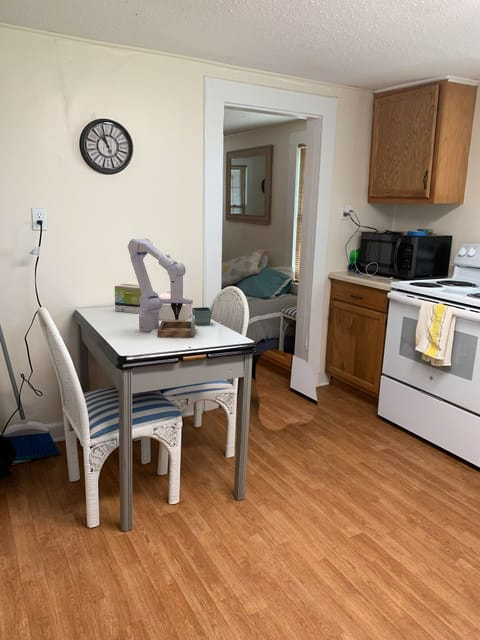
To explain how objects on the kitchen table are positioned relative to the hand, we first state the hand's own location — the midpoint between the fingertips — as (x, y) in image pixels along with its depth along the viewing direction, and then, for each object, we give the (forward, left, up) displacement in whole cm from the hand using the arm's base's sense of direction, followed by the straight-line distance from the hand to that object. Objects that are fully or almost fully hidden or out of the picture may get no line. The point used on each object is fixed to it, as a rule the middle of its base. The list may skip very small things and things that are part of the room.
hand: (176, 319), depth 234 cm
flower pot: (+11, +19, -8) cm, 23 cm away
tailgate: (+8, 0, -6) cm, 10 cm away
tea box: (-30, +55, -8) cm, 63 cm away
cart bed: (0, 0, -8) cm, 8 cm away
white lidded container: (-5, +40, -8) cm, 41 cm away
